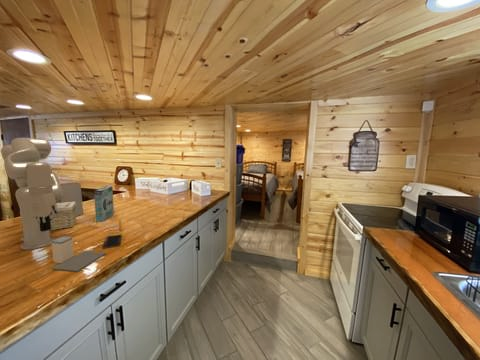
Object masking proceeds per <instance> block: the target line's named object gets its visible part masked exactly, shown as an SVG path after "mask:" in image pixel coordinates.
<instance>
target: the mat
mask: <svg viewBox="0 0 480 360" xmlns="http://www.w3.org/2000/svg"><path fill="white" fill-rule="evenodd" d="M106 255H107V252H101V251H91V250H83V251H81V252H79V253H78V254H76V255H74V257H72V258H70V259H68V260H66V261H65V262H63V263H59V264H57V265H55V266H54V267H52V268H51V270H52V271H61V270H62V272H74V273H78V272H80V271H82V270H83V269H85V268H86V267H88V266H89V265H91V264H92V263H94V262H96V261H97V260H100V259H101V258H103V257H104V256H106Z"/></svg>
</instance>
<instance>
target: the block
mask: <svg viewBox="0 0 480 360" xmlns="http://www.w3.org/2000/svg"><path fill="white" fill-rule="evenodd" d="M54 239H55V240H53V241H51V244H50V245H51V252H52V260H53V263H57V264H58V263H59V264H61V263H63V262H65V261H66V260H68V259H70V258H72V257H74V256H75V252H74V243H73V242H74V241H73V236H60V237H58V238H54Z"/></svg>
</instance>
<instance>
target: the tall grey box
mask: <svg viewBox="0 0 480 360" xmlns="http://www.w3.org/2000/svg"><path fill="white" fill-rule="evenodd" d="M81 184H82V183H81V182H65V183H60V185H61V187H62V189H63V194H64V195H63V198H62V199H61V200H60V203H65V202H76V206H75V212H76V213H75V215H76V217H79V215H80V216H81V215H83V214H84V206H83V197H82V196H83V195H82V185H81Z"/></svg>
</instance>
